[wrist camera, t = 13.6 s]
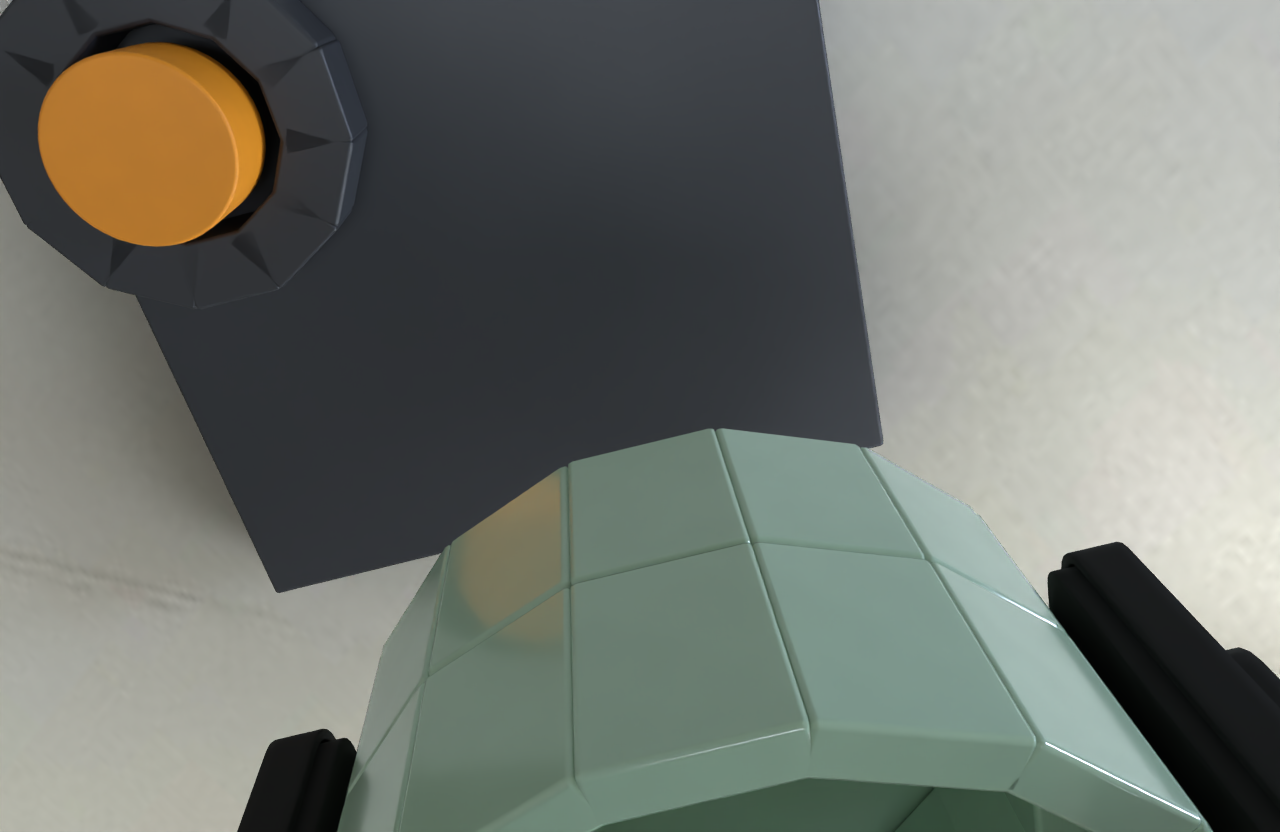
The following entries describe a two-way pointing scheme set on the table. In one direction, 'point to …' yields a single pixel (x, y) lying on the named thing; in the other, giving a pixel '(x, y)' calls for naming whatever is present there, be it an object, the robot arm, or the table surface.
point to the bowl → (743, 664)
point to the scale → (479, 248)
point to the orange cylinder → (151, 142)
